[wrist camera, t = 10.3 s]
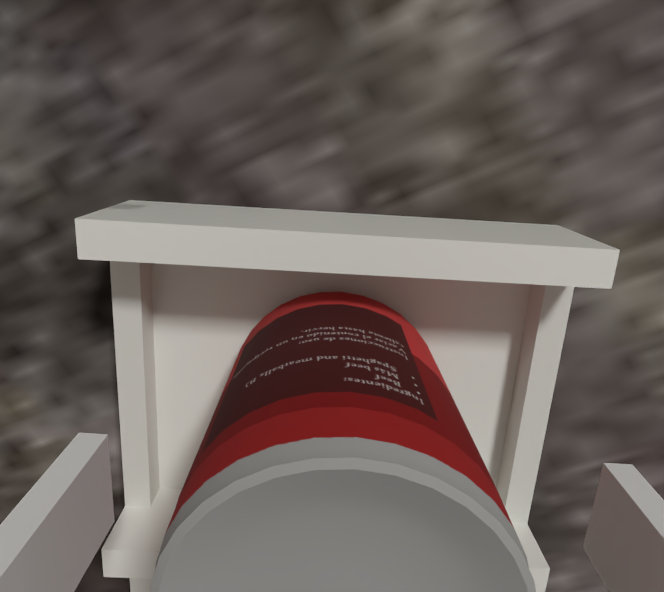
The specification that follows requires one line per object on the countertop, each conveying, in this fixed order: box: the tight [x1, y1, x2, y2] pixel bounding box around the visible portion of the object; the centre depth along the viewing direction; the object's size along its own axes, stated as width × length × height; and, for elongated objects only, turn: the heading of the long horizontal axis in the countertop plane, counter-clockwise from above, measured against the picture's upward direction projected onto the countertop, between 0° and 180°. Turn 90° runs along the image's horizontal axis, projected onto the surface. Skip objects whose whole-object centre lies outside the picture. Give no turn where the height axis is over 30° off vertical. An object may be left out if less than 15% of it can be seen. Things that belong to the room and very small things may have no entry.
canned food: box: [150, 292, 536, 592], centre depth 16 cm, size 8×8×11 cm
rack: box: [75, 200, 620, 592], centre depth 21 cm, size 16×25×4 cm, turn 177°
